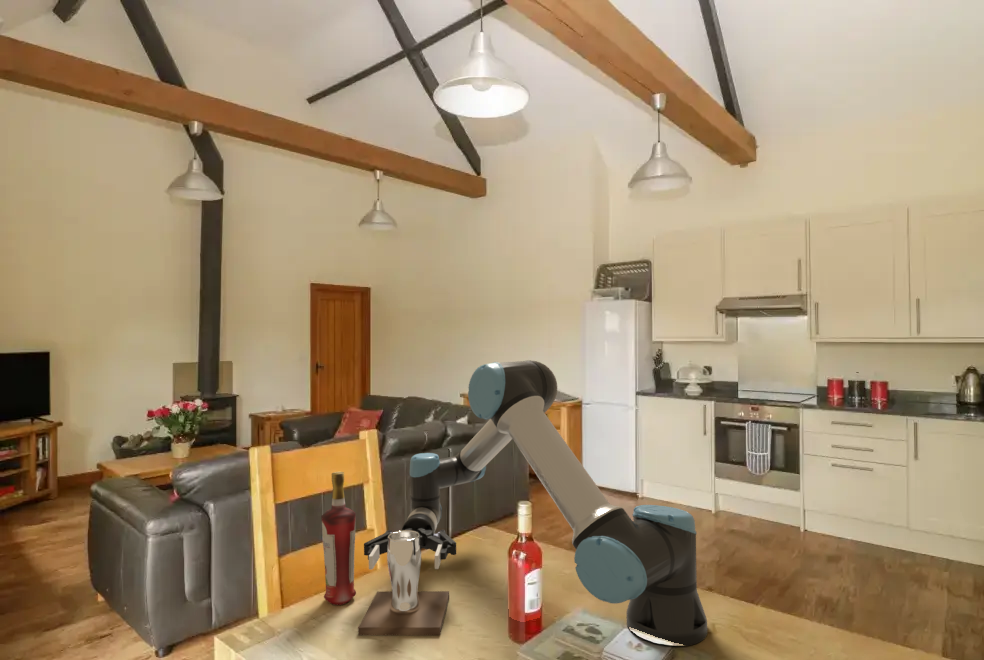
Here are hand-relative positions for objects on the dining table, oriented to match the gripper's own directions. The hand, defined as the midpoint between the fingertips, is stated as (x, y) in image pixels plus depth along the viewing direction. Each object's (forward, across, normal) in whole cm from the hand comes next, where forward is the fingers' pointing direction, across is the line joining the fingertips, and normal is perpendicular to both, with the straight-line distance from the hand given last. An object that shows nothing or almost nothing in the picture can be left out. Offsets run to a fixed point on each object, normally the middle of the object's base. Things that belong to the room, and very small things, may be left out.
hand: (403, 562), depth 121 cm
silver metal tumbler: (-2, 0, -10) cm, 10 cm away
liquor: (-8, +16, -12) cm, 21 cm away
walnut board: (-1, 0, -12) cm, 12 cm away
